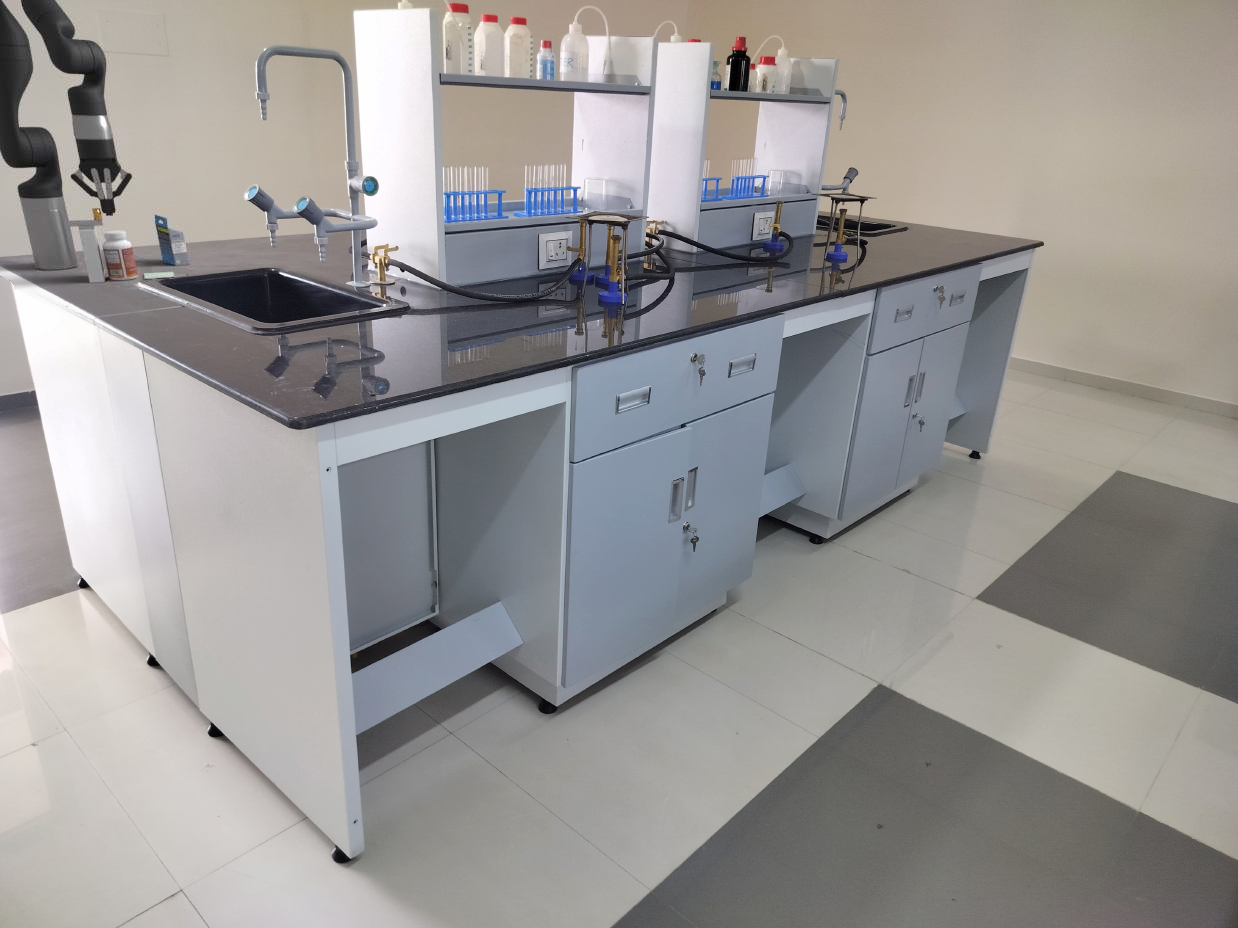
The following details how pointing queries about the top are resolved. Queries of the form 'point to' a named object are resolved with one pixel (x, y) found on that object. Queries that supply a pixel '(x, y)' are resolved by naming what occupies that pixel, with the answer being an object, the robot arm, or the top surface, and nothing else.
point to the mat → (158, 275)
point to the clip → (95, 222)
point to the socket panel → (92, 253)
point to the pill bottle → (119, 256)
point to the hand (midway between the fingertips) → (109, 215)
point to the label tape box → (171, 243)
